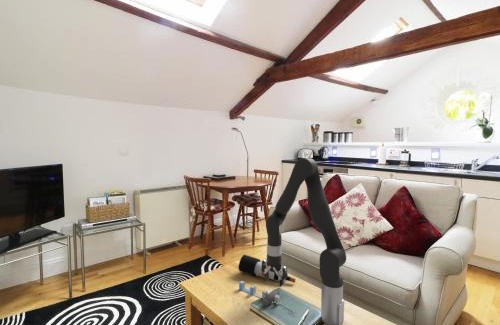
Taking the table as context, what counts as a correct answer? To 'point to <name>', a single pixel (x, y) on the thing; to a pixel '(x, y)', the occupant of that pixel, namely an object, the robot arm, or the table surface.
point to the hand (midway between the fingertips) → (273, 282)
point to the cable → (257, 268)
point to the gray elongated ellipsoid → (270, 297)
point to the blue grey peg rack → (253, 292)
